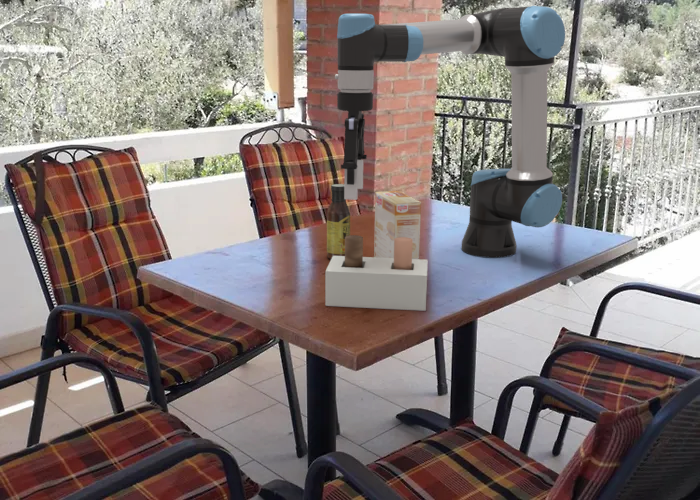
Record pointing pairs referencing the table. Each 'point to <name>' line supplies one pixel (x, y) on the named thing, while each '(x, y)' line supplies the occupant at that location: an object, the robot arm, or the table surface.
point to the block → (376, 284)
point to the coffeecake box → (396, 222)
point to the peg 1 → (354, 251)
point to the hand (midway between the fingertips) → (354, 193)
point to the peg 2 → (403, 253)
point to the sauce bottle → (337, 222)
